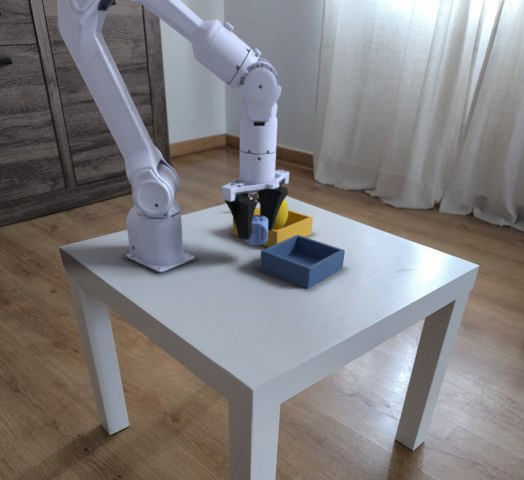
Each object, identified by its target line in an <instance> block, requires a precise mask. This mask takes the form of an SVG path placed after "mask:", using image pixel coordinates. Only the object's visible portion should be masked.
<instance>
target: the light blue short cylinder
mask: <svg viewBox="0 0 524 480" xmlns="http://www.w3.org/2000/svg"><path fill="white" fill-rule="evenodd" d="M267 240H268V218H267V217H265V216H262V215H253V219H252V229H251V236H250V239H248V240H245V239H243V241H244V243H246V244H247V245H250V246H264V245H263V244H265V243H266V242H267Z"/></svg>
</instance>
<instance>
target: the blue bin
mask: <svg viewBox="0 0 524 480" xmlns="http://www.w3.org/2000/svg"><path fill="white" fill-rule="evenodd" d="M345 252H346V250H345V249H342V248H339V247H336V246H333V245H330V244H328V243H324V242H322V241H318V240H316V239H312V238H309V237H307V236H306V237H303V236H300V235H295V236H293V237H291V238H289V239H286V240H284V241H282V242H280V243H277V244H275V245H273V246H271V247H266V248H264V249H262V250H260V270H261V271H263V272H265V273H268V274H271V275H273V276H275V277H278V278H280V279H283V280H286V281H288V282H290V283H293V284H295V285H298V286H301V287H303V288H306V289H310V288H311V287H314V286H315V285H317V284H319V283H321V282H322V281H324V280H326V279H328V278H330V277H331V276H333V275H334V274H336V273H338V272H339V271H342V270H343V268H344V260H345Z"/></svg>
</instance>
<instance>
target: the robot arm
mask: <svg viewBox="0 0 524 480" xmlns="http://www.w3.org/2000/svg"><path fill="white" fill-rule="evenodd" d="M114 1H115V0H56V5H57V7H56V10H57V27H58V31H59V33H60V36H61V38H62V40H63V41H64V44H65V47H66V48H67V51H69V55H70V56H71V58H72V60H73V61H74V63H75V65H76V68H77V69H78V71H79V73H80V75H81V78H82V79H83V81H84V83H85V85H86V87H87V89H88V91H89V93H90V94H91V96H92V99H93V101H94V103H95V105H96V106H97V109H98V110H99V112H100V114H101V116H102V118H103V120H104V122H105V125H106V126H107V128H108V130H109V131H110V135H111V136H112V138H113V140H114V141H115V144H116V146H117V148H118V150H119V151H120V153H121V156H122V157H123V161H124V166H125V173H126V177H127V180H128V181H129V184H130V187H131V197H132V201H133V204H134V205H133V206H132V207H131V208H130V209H129V211H128V213H127V216H126V223H125V224H126V231H127V239H128V247H129V253H126V255H125V256H126V258H127V259H129V260H132V261H134V262H136V263H138V264H140V265H142V266H145V267H147V268H148V269H151V270H153V271H155V272H157V273H164V272H166V271H169V270H171V269H174V268H176V267H178V266H181V265H184V264H186V263H189V262H191V261H193V260H195V256H194V255H192V254H190V253H187V252H186V251H184V241H183V225H182V209H181V205H180V204H179V202H178V201H177V199H176V194H177V192H178V190H179V186H180V177H179V176H178V173H177V171H176V170H175V168H173V167H172V166H171V165H170V164H169V163H168V162H167V161H166V159H165V158H164V156H163V154H162V152H161V151H160V149H158V148H157V146H156V145H155V144H154V143H153V140H152V139H151V136H150V134H149V131H148V130H147V128H146V125H145V124H144V121H143V119H142V117H141V115H140V113H139V111H138V108H137V106H136V105H135V102H134V100H133V98H132V96H131V94H130V92H129V90H128V87H127V86H126V83H125V80H124V79H123V76H122V75H121V72H120V70H119V69H118V66H117V64H116V62H115V60H114V58H113V56H112V53H111V52H110V49H109V47H108V45H107V43H106V41H105V39H104V37H103V35H102V30H103V26H104V24H105V20H106V17H107V14H108V11H109V8H110V7H111V6H112V4H113V2H114ZM129 1H131V2H135V3H138V4H140V5H142V6H143V7H145V8H146V9H147V10H148V11H150V12H151V13H152V14H154V15H155V16H156V17H157V18H159V19H160V20H161V21H163V22H164V23H165V24H166V25H168V26H169V27H170V28H171V29H173V30H174V31H176V32H177V33H178V34H179V35H180V36H182V37H183V38H184V39H186V40H187V41H189V43H190V44H191V46H192V52H193V57H194V59H195V60H196V61H197V62H199V63H200V64H201V65H202V66H203V67H205V68H206V69H207V70H209V71H210V72H211V73H212V74H213V75H215V77H217V78H218V79H219V80H221V82H223V83H224V84H226V85H227V86H228V87H229V88H231V89H232V88H235V89H236V88H237V90H238V92H239V95H240V97H241V115H240V117H239V167H238V168H239V169H238V170H239V175H238V177H237V178H235V179H234V180H232V181H230V182H229V183H227V184H224V185H222V186H221V189H220V190H221V200H224V202H225V204H226V205H227V207H228V209H229V211H230V213H231V215H232V219H233V218H234V221H235V225H236V228H237V233H238V236H237V237H238V238H240V239H243V240H244V239H245V240H248V239H250V236H251V229H252V219H253V215H254V211H255V209H256V208H257V206H258V204H259V208H260V215H262V216H265V217H267V218H268V230H270V231H271V230H273V227H274V224H275V220H276V217H277V214H278V211H279V209H280V206H281V204H282V202H283V200H284V199H285V200H286V198H287V196H288V194H289V188H288V187H285V186H283V185H288V184H289V182H290V171H288V170H284V169H278V170H276V163H277V161H276V160H277V159H276V158H277V142H278V141H277V140H278V139H277V138H278V117H277V114H278V102H277V101H278V100H279V98H280V96H281V93H282V86H281V81H280V76H279V74H278V72H277V70H276V69H275V68H274V66H273V65H272V64H271V63H270V61H269V60H267V59H266V58H262V57H260V56H261V55H262V52H261V51H260V50H259V49H258V48H257V47H255V48H254V49H252V48H251V47H250V46H249V45H248V44H247V43H246V42H245V41H243V40H242V39H241V38H240V37H238V36H237V34H235V33H234V32H233V30H234V26H233V25H232V24H230V23H229V22H228V21H225V22H224V24H223V22H222V21H220V20H219V19H217V18H216V19H210V20H209V19H208V20H203V19H201V18H200V17H199V16H198V15H197V14H196V13H195V12H193V10H191V8H189V7H188V6H187V5H186V4H185V3H184V2H182V1H181V0H129ZM250 193H257V194H258V197H259V202H260V203H259V202H258V201H254V200H252V198H251V196H249V195H250Z"/></svg>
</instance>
